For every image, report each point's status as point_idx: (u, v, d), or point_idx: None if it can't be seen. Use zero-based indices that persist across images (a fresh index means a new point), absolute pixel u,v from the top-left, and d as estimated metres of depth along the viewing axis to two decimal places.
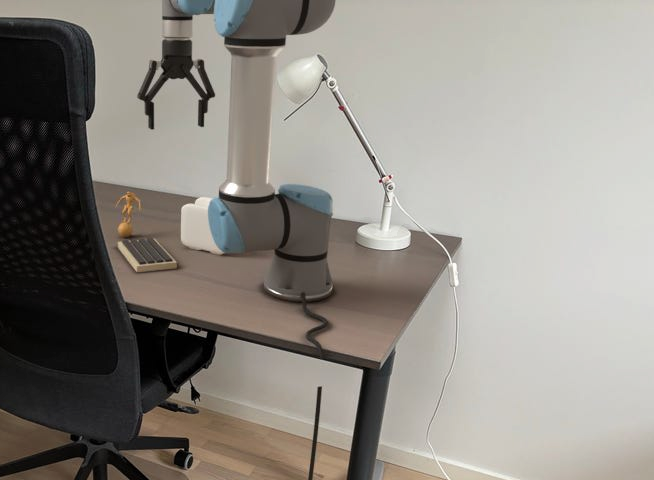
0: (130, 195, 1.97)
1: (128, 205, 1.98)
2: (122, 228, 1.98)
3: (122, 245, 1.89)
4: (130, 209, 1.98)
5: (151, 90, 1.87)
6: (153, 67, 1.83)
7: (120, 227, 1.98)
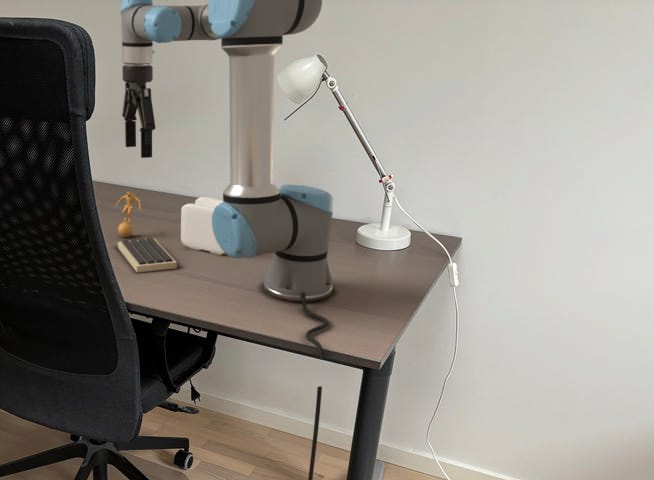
0: (130, 195, 1.97)
1: (128, 205, 1.98)
2: (122, 228, 1.98)
3: (122, 245, 1.89)
4: (130, 209, 1.98)
5: None
6: (125, 88, 1.91)
7: (120, 227, 1.98)
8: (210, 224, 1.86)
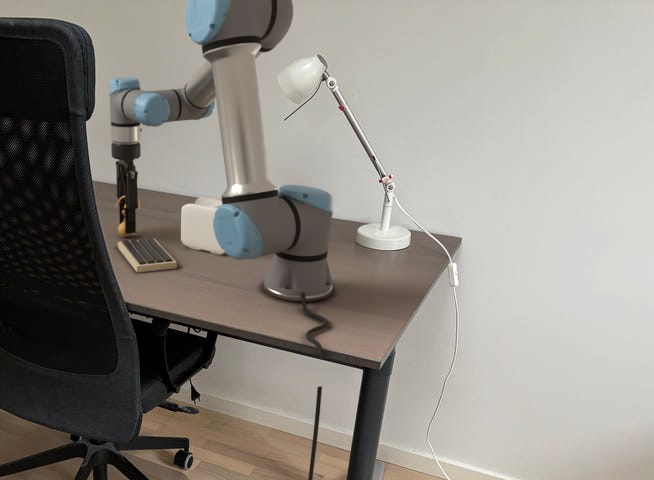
0: None
1: None
2: (122, 229, 1.98)
3: (122, 245, 1.89)
4: None
5: None
6: (116, 167, 1.98)
7: (120, 228, 1.98)
8: (210, 224, 1.86)
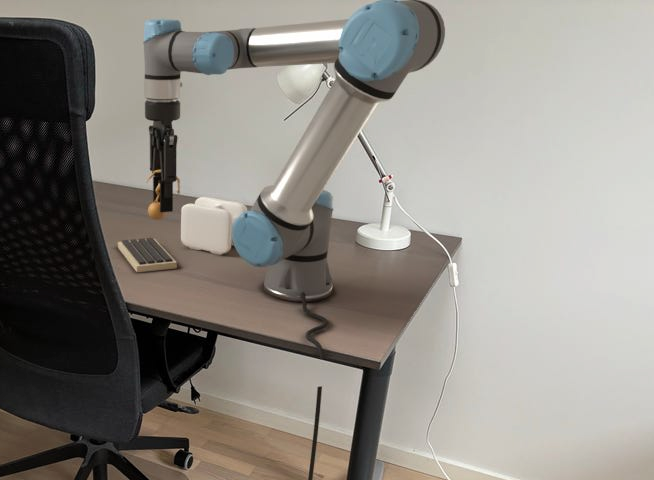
0: None
1: None
2: (155, 211, 1.65)
3: (122, 245, 1.89)
4: None
5: None
6: (149, 132, 1.64)
7: (152, 209, 1.65)
8: (210, 224, 1.86)
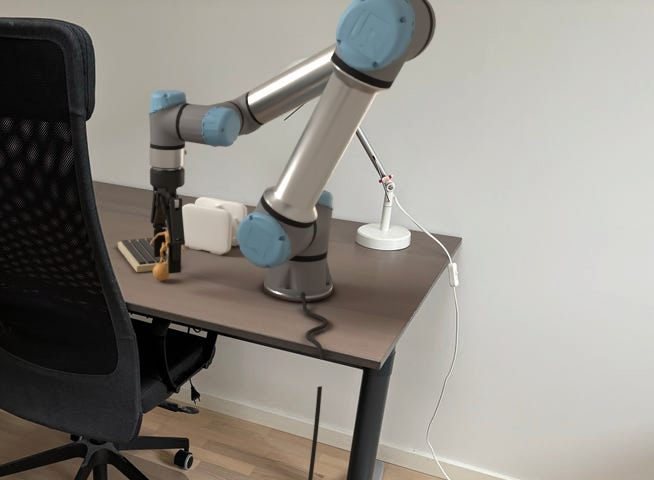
0: None
1: (167, 243, 1.70)
2: (161, 270, 1.69)
3: (122, 245, 1.89)
4: None
5: None
6: (153, 191, 1.67)
7: (158, 269, 1.69)
8: (210, 224, 1.86)
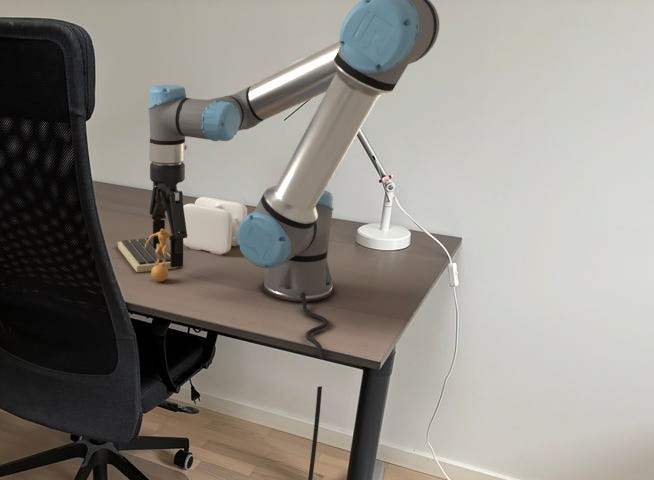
0: (164, 232, 1.68)
1: (162, 244, 1.69)
2: (159, 272, 1.69)
3: (122, 245, 1.89)
4: (165, 249, 1.69)
5: None
6: (153, 185, 1.67)
7: (155, 271, 1.69)
8: (210, 224, 1.86)
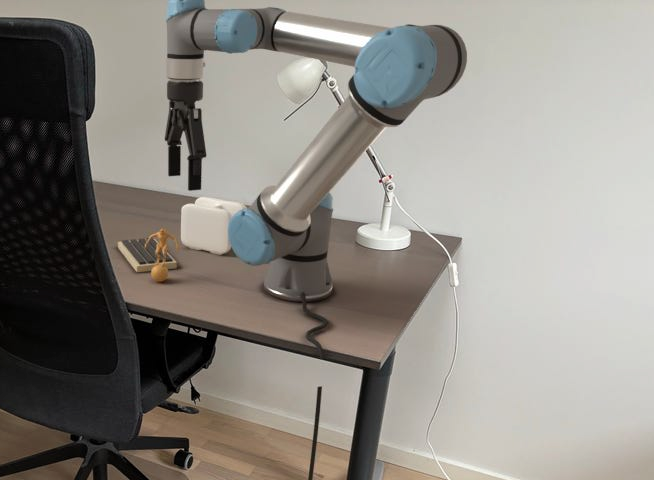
0: (164, 233, 1.68)
1: (161, 244, 1.69)
2: (159, 272, 1.69)
3: (122, 245, 1.89)
4: (165, 249, 1.69)
5: None
6: (169, 107, 1.61)
7: (155, 271, 1.69)
8: (210, 224, 1.86)
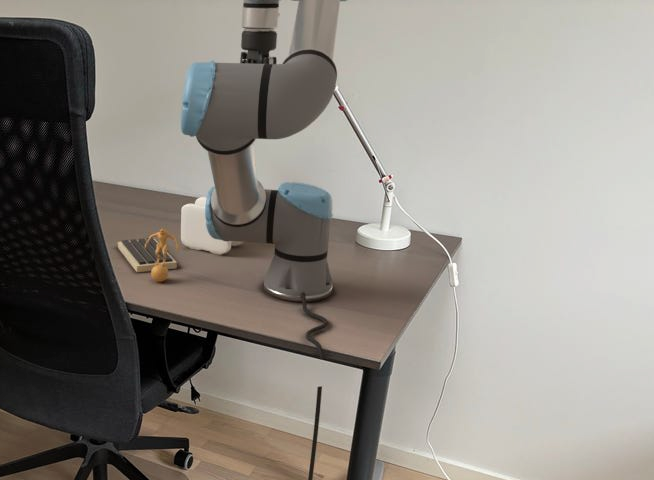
0: (164, 233, 1.68)
1: (161, 244, 1.69)
2: (159, 272, 1.69)
3: (122, 245, 1.89)
4: (165, 249, 1.69)
5: None
6: (241, 59, 1.65)
7: (155, 271, 1.69)
8: None
